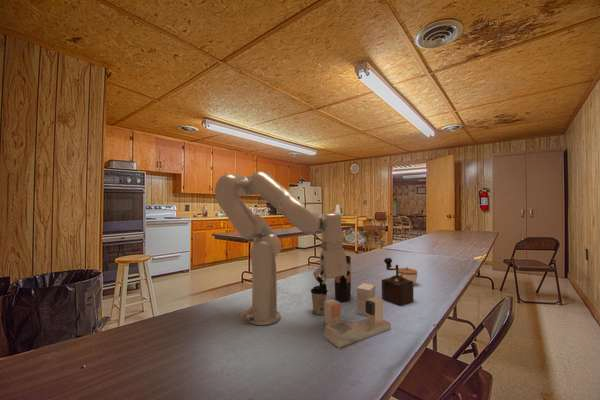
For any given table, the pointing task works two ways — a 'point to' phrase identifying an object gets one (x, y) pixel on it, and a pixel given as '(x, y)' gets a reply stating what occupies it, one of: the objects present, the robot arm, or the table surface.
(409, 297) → the manual coffee grinder
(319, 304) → the coffee cup
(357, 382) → the table surface
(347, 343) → the rail
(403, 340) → the table surface
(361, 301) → the small box
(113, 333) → the table surface
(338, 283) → the travel mug
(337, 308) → the beige orange block
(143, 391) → the table surface
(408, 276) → the lidded jar
